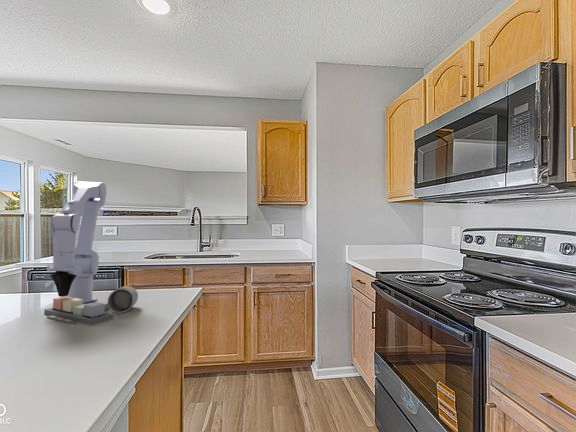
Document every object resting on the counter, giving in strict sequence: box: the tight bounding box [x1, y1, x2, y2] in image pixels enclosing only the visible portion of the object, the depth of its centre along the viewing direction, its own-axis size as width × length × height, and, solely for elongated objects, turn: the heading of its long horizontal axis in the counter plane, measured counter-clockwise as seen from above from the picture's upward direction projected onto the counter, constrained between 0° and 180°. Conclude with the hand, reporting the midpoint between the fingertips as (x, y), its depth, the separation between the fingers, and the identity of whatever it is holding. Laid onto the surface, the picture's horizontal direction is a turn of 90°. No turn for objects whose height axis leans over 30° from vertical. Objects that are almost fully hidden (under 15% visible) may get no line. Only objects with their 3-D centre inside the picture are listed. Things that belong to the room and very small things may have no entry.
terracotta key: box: [52, 296, 73, 310], centre depth 106 cm, size 4×4×3 cm
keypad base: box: [43, 307, 114, 326], centre depth 102 cm, size 22×7×1 cm, turn 64°
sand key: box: [63, 298, 84, 312], centre depth 103 cm, size 4×4×3 cm
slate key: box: [84, 301, 106, 318], centre depth 99 cm, size 4×4×3 cm
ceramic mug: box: [104, 285, 139, 314], centre depth 110 cm, size 11×8×8 cm
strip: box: [46, 315, 76, 325], centre depth 98 cm, size 12×1×1 cm, turn 64°
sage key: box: [73, 303, 86, 316], centre depth 101 cm, size 4×4×3 cm
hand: (63, 295), depth 105 cm, fingers closed
